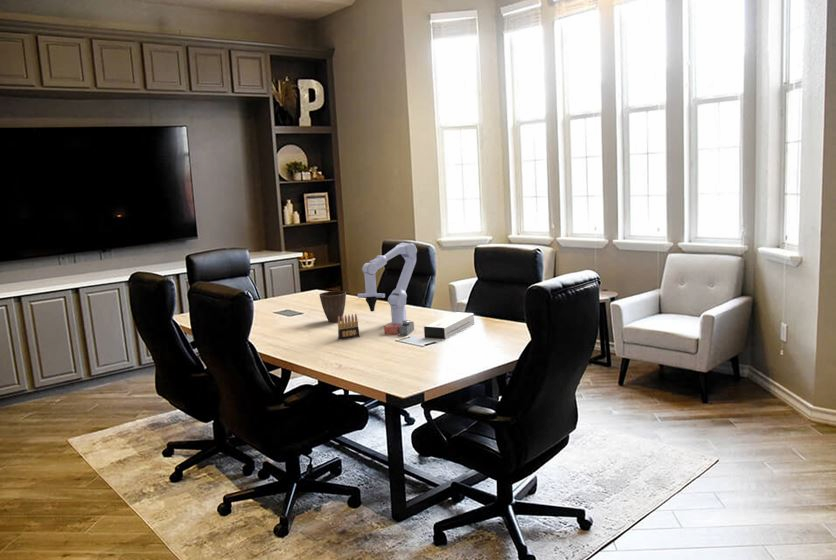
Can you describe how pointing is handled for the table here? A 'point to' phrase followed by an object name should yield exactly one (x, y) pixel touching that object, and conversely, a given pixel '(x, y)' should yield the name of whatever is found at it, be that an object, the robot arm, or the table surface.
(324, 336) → the table surface
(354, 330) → the ammunition clip
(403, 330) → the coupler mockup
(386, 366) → the table surface
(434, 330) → the laminator
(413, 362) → the table surface
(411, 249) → the robot arm
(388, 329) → the red block
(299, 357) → the table surface
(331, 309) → the plant pot
